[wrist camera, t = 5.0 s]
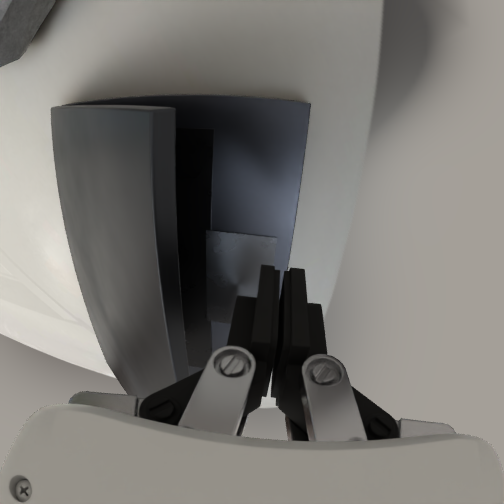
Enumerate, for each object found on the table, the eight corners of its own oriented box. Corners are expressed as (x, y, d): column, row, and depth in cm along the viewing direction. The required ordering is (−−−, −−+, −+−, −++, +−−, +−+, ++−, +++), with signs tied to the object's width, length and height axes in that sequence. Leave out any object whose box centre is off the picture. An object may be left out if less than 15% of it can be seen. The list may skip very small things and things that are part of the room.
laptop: (308, 102, 17) (311, 103, 15) (266, 375, 30) (265, 388, 29) (73, 103, 18) (59, 105, 16) (117, 349, 31) (111, 359, 29)
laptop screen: (181, 107, 6) (150, 110, 6) (208, 479, 20) (201, 483, 19) (60, 105, 16) (50, 107, 16) (112, 359, 30) (106, 362, 29)
